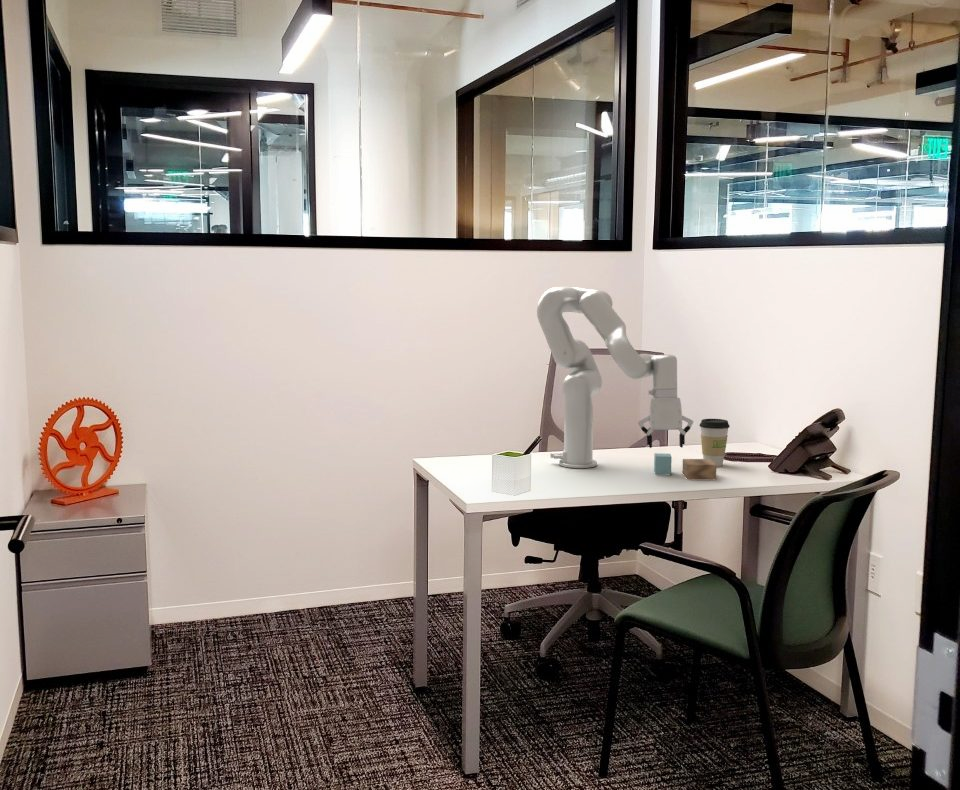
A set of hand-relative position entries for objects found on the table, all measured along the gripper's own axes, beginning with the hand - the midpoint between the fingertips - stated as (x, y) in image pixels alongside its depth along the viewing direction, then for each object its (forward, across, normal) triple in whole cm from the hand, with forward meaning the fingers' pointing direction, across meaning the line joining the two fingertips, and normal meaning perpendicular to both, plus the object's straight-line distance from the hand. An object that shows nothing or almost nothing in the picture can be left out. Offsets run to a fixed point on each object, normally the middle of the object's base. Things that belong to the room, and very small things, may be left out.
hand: (665, 446), depth 295 cm
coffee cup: (+9, +17, +15) cm, 25 cm away
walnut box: (+9, +10, -4) cm, 14 cm away
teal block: (+9, -1, 0) cm, 9 cm away
